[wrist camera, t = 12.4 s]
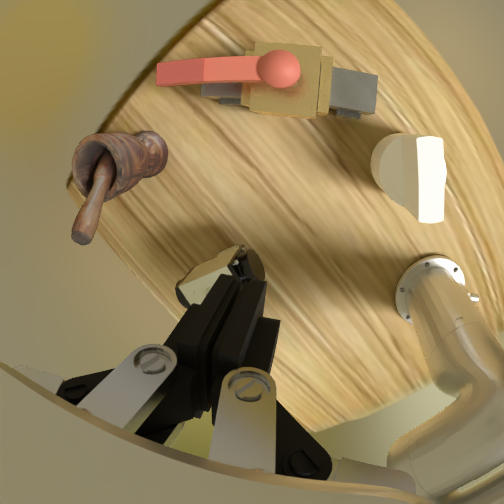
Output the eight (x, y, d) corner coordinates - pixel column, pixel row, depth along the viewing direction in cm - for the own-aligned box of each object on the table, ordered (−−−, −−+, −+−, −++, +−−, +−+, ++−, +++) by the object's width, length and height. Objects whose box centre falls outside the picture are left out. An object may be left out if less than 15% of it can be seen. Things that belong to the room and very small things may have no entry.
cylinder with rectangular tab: (367, 133, 35) (387, 135, 25) (428, 133, 33) (466, 137, 22) (372, 198, 39) (391, 225, 28) (430, 196, 37) (466, 222, 26)
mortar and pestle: (195, 173, 43) (113, 209, 25) (158, 207, 46) (74, 257, 28) (150, 117, 40) (53, 123, 23) (117, 154, 44) (23, 180, 26)
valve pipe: (369, 72, 32) (389, 51, 21) (363, 128, 35) (383, 127, 24) (222, 58, 35) (186, 36, 24) (217, 111, 38) (180, 107, 27)
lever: (301, 55, 23) (300, 50, 21) (300, 90, 24) (299, 87, 23) (165, 60, 25) (156, 57, 24) (164, 92, 27) (155, 90, 25)
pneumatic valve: (196, 258, 48) (163, 295, 38) (259, 228, 44) (239, 263, 33) (214, 286, 50) (186, 328, 39) (276, 260, 45) (262, 303, 35)
